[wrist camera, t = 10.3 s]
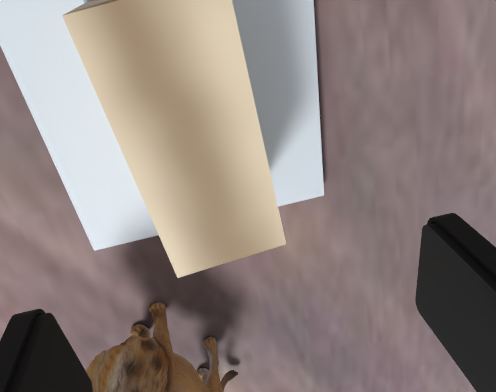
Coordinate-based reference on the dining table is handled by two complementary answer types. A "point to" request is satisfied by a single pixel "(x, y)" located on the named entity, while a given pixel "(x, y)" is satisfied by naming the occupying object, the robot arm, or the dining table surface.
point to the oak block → (183, 123)
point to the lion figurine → (154, 364)
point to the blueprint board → (102, 136)
